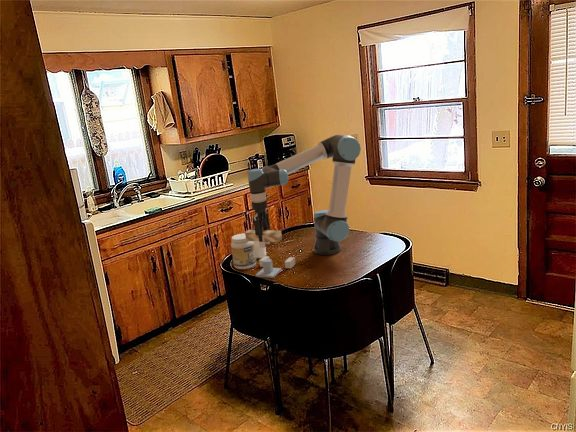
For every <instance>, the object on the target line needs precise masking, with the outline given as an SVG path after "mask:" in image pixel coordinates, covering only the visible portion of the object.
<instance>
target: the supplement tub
mask: <svg viewBox="0 0 576 432" xmlns="http://www.w3.org/2000/svg"><path fill="white" fill-rule="evenodd" d="M230 247H231V248H230V249H231V253H232V260H233V266H234V268H235V269H238V270H247V269H252V268H253V267H255V266H256V265H257V258H256V257H255V250H254V242H253V241H246V236H245V232H244V233H238V234H234V235H232V236H231V242H230Z"/></svg>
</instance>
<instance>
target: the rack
mask: <svg viewBox="0 0 576 432" xmlns="http://www.w3.org/2000/svg"><path fill="white" fill-rule="evenodd" d="M265 259H267V260H271V258H270V256H267V255H266V256H264V257H263V258H259V260H258V261H259V267H260V268H263V263H262V261H264V260H265ZM295 265H296V257H294V256H293V257H292V256H290V257H288V258H287V259H286V260H285V261H284V266H285V269H292V268H293V267H294V266H295Z"/></svg>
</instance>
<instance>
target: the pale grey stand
mask: <svg viewBox="0 0 576 432" xmlns="http://www.w3.org/2000/svg"><path fill="white" fill-rule="evenodd" d="M262 263H263V267H262V268H261V270H259V271H258V272H257V273H256V274H255V278H256V277H257V278H271V279H274V278H275V277H276V276H277V275H278V274H279V273H280V272H281V271H282V268H281V267H274V265H273V259H270V260H267V259H265V260H264V261H262Z"/></svg>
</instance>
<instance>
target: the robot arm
mask: <svg viewBox="0 0 576 432" xmlns="http://www.w3.org/2000/svg"><path fill="white" fill-rule="evenodd" d="M361 150H362V149H361V144H360V142H359V140H358V139H357V138H356V137H353V136H352V135H344V134H334V135H332V136H330V137H327V138H326V139H323V140H322V141H319V142H318V143H317V144H316V145H314V146H313V147H311V148H308V149H305V150H304V151H302V152H299V153H297V154H293V155H292V156H290V157H288V158H286V159H283V160H280V161H279V162H277V163H275V164H272V165H267V166H263V167H262V168H253V169H250V170H249V171H247V181H248V188H249V193H250V194H249V196H250V201H251V208H252V210H254V211H255V212H254V216H252V217H251V218H252V221H253V227H254V230H255V235H258V237H259V245H260V248H266V245H271V242H265V241H264V235H263V230H271V224H270V216H269V212H270V211H269V209H267V208H268V202H267V192H266V188H270V187H271V188H272V187H276V186H277V187H278V186H283V185H287V184H288V183H289V174H291V173H293V172H296V171H297V170H300V169H303V168H304V167H306V166H309V165H311V164H313V163H316V162H318V161H320V160H323V159H324V160H327V159H329V158H332V160H331V161H332V163H333V164H334V167H333V175H332V183H331V190H330V191H331V192H330V199H329V206H328V209H323V210H317V211H315V212H314V213H313V224H314V234H315V241H314V245H313V252H314V253H315V254H316V255H320V256H329V255H334V254H337V253H339V252H340V251H342V246H341V243H340V242H341V241H343V240H345V239H346V238H347V237H348V235H349V233H350V226H349V224H348V217H349V215H348V214H347V213H346V208H347V203H348V194H349V187H350V179H351V174H352V168H353V166H354V165H355V164H356V159H357V158H358V157H359V156H360V153H361Z"/></svg>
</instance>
